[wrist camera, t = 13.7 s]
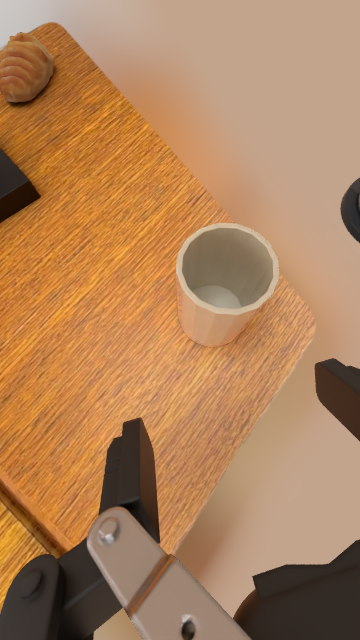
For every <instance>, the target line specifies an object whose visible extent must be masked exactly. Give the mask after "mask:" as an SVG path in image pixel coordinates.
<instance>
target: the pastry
mask: <svg viewBox="0 0 360 640" xmlns="http://www.w3.org/2000/svg"><path fill="white" fill-rule="evenodd" d="M53 68H54V59H53V57H52V55H51V54H50V53H49V52H48V51H47V49H46V48H45V47H44V46H43V45H42V44H41V43H40V42H39V41H38V39H37V38H35V37H34V36H32V35H30V34H28V33H22V32H20V33H18V34H17V35H15V36H10V41H8V44H7V45H6V47H5V48H4V49H3V50H2V51H1V52H0V91H1V93H2V94H3V95H4V97H5V99H6V100H7V101H8V102H9V101H11V102H25V101H29V100H32V98H35V97H36V95H37V94H38V93H39V92H41V91H42V90H43V89H44V88H45V86H46V85H47V83H48V82H49V78H50V76H52V75H53Z"/></svg>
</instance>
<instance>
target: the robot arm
mask: <svg viewBox="0 0 360 640" xmlns="http://www.w3.org/2000/svg"><path fill="white" fill-rule="evenodd" d="M356 206H357V211H358V214H359V216H360V192H359V194H358V196H357V201H356ZM315 380H316V393H317V396H318V398H319V400H320V402H321V403H322V404H323V405H324V406H325V407H326V408H327V409H328V410H329V411H330V412H331V413H332V414H333V415H334V416H335V417H336V418H337V419H338V420H339V421H340V422H341V423H342V424H343V425H344V426H345V427H346V428H347V429H348V430H349V431H350V432H351V433H352V434H353V435H354V436H355V437H356V438H357V439H358V440H359V441H360V369H358V368H355V367H352V366H347V367H346V366H345V365H343V364H342V363H341V362H339V361H338V360H336V359H334V358H332V359H329V360H325V361H322V362H319V363H316V364H315ZM158 543H160V534H159V519H158V504H157V489H156V474H155V460H154V452H153V448H152V444H151V441H150V439H149V436H148V433H147V431H146V428H145V426H144V423H143V420H142V418H141V417H140V418H136V419H133V420H130V421H126V422H124V423H123V431H122V436H121V437H117V438H114V439H113V441H112V443H111V445H110V447H109V448H108V451H107V458H106V466H105V474H104V480H103V488H102V495H101V502H100V509H99V515H98V517H97V519H96V520H95V521H94V523H93V524H92V526H91V528H90V530H89V533H88V536H87V537H86V538H85V539H84V540H83V541H82V542H81V543H79V544H78V545H77V546H75V547H74V548H73V549H71V550H70V551H68V552H67V553H65V554H64V555H62V556H61V557H60V558H58V559H56V558H55V557H54V556H53V555H50V554H43V555H40V556H38V557H36V558H34V559H33V560H31V561H30V562H29V563H27V564H26V565H25V566H24V567H23V568H22V569H21V570H20V572H19V573H18V574H17V576H16V577H15V578H14V580H13V582H12V583H11V585H10V587H9V589H8V592H7V595H6V598H5V601H4V604H3V607H2V610H1V614H0V640H93V634H94V631H95V630H96V629H97V628H99V627H100V626H101V625H102V624H104V623H105V622H106V621H107V620H108V619H110V618H111V617H112V616H113V615H114V614H116V613H117V612H118V611H119V610H120V609H121V608H124V610H125V611H126V613H127V615H128V617H129V618H130V620H131V621H132V623H133V625H134V626H135V628H136V629H137V631H138V632H139V634H140V636H141V637H142V639H143V640H360V540H357V541H355V542H354V543H353V544H352V545H350V546H349V547H348V548H347V549H346V550H345V551H344V552H342V553H341V554H340V555H339V556H338V557H336V558H335V559H334V560H333V561H332V562H330V563H329V564H324V565H284V566H281V567H278V568H275V569H272V570H269V571H266V572H263V573H260V574H257V575H255V576H252V577H253V581H254V585H255V588H256V589H255V590H254V591H253V592H252V593H250V594H249V595H248V596H247V597H246V599H245V600H244V601H243V602H242V603H241V605H240V606H239V608H238V610H237V611H236V613H235V615H234V617H233V619H232V618H231V617H230V616H229V614H228V613H227V612H226V611H225V610H224V609H223V608H222V607H221V606H220V605H219V604H218V602H216V600H215V599H214V598H213V597H212V596H211V595H210V594H209V593H208V592H207V591H206V590H205V588H204V587H203V586H202V585H201V584H200V583H199V582H198V581H197V580H196V579H195V577H193V575H192V574H191V573H190V572H189V571H188V570H187V569H186V568H185V567H184V566H183V564H181V562H180V561H178V559H177V558H176V557H175V556H173V555H172V554H169V555H168V554H167V553H166V552H165V551H164V550H163V549H162V548H161V547H160V546H159V545H158Z"/></svg>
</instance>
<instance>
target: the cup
mask: <svg viewBox="0 0 360 640" xmlns="http://www.w3.org/2000/svg"><path fill="white" fill-rule="evenodd" d="M278 280H279V262H278V258H277V256H276V254H275V252H274V250H273V248H272V247H271V245H270V244H269V242H268V241H267V240H266V239H264V238H263V237H262V236H261V235H260V234H259V233H257V232H256V231H255V230H252V229H250V228H247V227H245V226H242V225H239V224H232V223H216V224H213V225H210V226H206V227H203V228H201V229H199V230H197V231H196V232H195V233H194V234H192V235H191V236H190V237H188V238H187V239H186V240H185V242H184V244H183V246H182V247H181V249H180V251H179V253H178V255H177V266H176V282H177V304H178V318H179V322H180V325H181V327H182V329H183V331H184V333H185V334H186V335H187V336H188V337H189V338H190V339H191V340H193V341H194V342H196V343H198V344H200V345H203V346H208V347H218V346H222V345H225V344H228V343H229V342H231V341H233V340H234V339H235V338H236V337H237V336H238V335H239V334H240V333H241V332H242V331H243V330H244V329H245V327H246V326H247V325H248V324H249V323H250V321H251V320H252V319H253V318H254V317H255V315H256V314H257V313H258V312H259V311H260V309H261V308H262V307H263V306H264V305H265V303H266V302H267V301H268V300H269V299H270V297H271V296H272V295H273V293H274V290H275V288H276V285H277V283H278Z"/></svg>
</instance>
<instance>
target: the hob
mask: <svg viewBox="0 0 360 640" xmlns="http://www.w3.org/2000/svg"><path fill="white" fill-rule="evenodd" d="M39 197H40V195H39V194H38V192H37V191H36V189H35V188H34V186H33V185H32V183H31V182H30V180H29V179H28V178H27V177H26V176H25V175H24V174H23V173H22V171H21V170H20V169H19V168H18V167H17V166H16V165H15V164H14V163H13V162H12V160H11V159H10V158H9V157H8V156H7V155H6V154H5V153H4V152H3V150H2V149H1V148H0V222H2V221H3V220H5V219H6V218H8V217H10V216H11V215H13V214H14V213H16V212H17V211H19V210H21V209H22V208H24V207H25V206H27V205H28V204H30V203H32V202H33V201H35V200H36V199H38V198H39Z"/></svg>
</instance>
